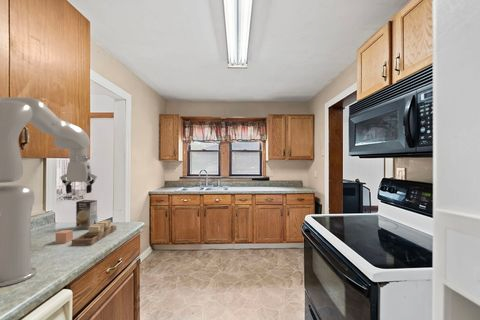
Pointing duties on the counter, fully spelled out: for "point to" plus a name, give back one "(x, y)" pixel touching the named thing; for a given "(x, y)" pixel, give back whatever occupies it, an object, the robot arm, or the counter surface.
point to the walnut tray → (92, 237)
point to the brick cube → (64, 236)
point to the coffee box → (86, 213)
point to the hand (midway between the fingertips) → (78, 192)
